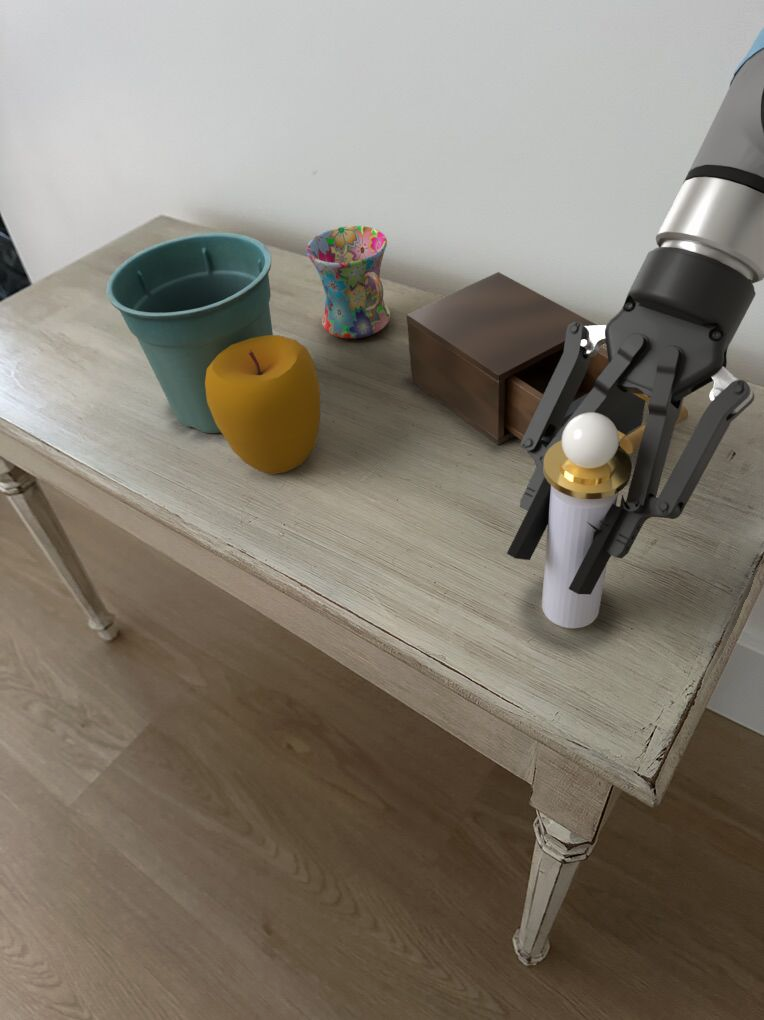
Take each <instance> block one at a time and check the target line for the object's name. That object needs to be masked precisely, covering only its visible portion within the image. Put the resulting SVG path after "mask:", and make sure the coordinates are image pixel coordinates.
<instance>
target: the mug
mask: <svg viewBox="0 0 764 1020" xmlns="http://www.w3.org/2000/svg"><path fill="white" fill-rule="evenodd" d="M387 244H388V240H387V237H386V236H385V234H384V233H383V232H381V231H380V230H378V229H376V228H373V227H370V226H365V225H364V226H363V225H345V226H339V227H335V228H331V229H330V228H329V229H328V230H325V231H323V232H320V233H319V234H317V235H316V236H314V237H312V238H311V240H309V242H308V244H307V245H306V255H307V257H308V259H309V260H310V261H311V263H312V264H313V266H314V268H315V269H316V271H317V274H318V276H319V278H320V281H321V283H322V287H323V291H324V310H323V314H322V318H321V324H322V327H323V329H324V330H325V331H326V332H327V333H329V334H330V335H332V336H334V337H336V338H341V339H351V340H352V339H362V338H366V337H369V336H370V337H371V336H372V335H374V334H376V333H379V332H380V331H382V330H383V329H384V328H386V326H387V325H388V324H389V321H390V320H391V311H390V309H389V307H388V305H387V304H386V302H385V300H384V286H383V283H382V281H381V267H382V261H383V258H384V254H385V251H386V248H387V246H388V245H387Z"/></svg>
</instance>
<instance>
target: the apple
mask: <svg viewBox="0 0 764 1020" xmlns="http://www.w3.org/2000/svg"><path fill="white" fill-rule="evenodd" d="M319 381H320V380H319V377H318V374H317V371H316V366H315V362H314V360H313V357H312V355H311V354H310V352H309V350H308V349H307V348H306V347H305V346H304V345H303V344H301V342H299V341H298V340H296V339H294V338H290V337H286V336H283V335H280V334H279V335H278V334H273V335H265V336H259V337H254V338H250V339H247V340H244V341H241V342H238V343H235V344H232V345H230V346H229V347H228V348H226V349H225V350H223V351H222V352H221V353H220V354H219V355H217V357H216V358H215V359H214V360H213V362H212V363H211V364H210V365H209V367H208V368H207V371H206V379H205V388H206V396H207V403H208V406H209V408H210V411H211V413H212V415H213V418H214V420H215V423H216V425H217V426H218V428H219V430H220V431H221V432H220V433H221V435H222V436H223V437H224V439H225V440H226V442H227V444H228V445H229V446H230V448H231V450H232V451H233V452H234V454H235V455H236V456H238V458H239V459H241V461H242V462H244V463H245V464H246V465H248V466H249V467H251V468H253V469H255V470H257V471H259V472H262V473H265V474H268V475H269V474H270V475H276V474H281V473H282V474H283V473H287V472H289V471H291V470H293V469H295V468H297V467H300V465H302V464H303V463H304V462H305V461H306V460H308V458H309V456H310V455H311V454H312V452H313V449H314V448H315V447H316V443H317V439H318V436H319V431H320V421H321V387H320V382H319Z"/></svg>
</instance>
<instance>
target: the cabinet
mask: <svg viewBox="0 0 764 1020" xmlns="http://www.w3.org/2000/svg"><path fill="white" fill-rule="evenodd" d="M573 321H579V322H580V323H581V324H582V325H584V326H594V325H597V324H596V323H595V322H593V321H590V320H589V319H587V318H585V317H583V316H581V315H579V314H578V313H576V312H574V311H572V310H570V309H568V308H566V307H564V306H563V305H561V304H559V303H557V302H555V301H553V300H552V299H550V298H548V297H546V296H544V295H542V294H540V293H539V292H536V291H535V290H533V289H531V288H529V287H528V286H526V285H524V284H522V283H520V282H518V281H516V280H514V279H512V278H510V277H509V276H508V275H505V274H503V273H501V272H500V271H497V272H495V273H493V274H491V275H488V276H486V277H485V278H482V279H480V280H478V281H475V282H473V283H472V284H469V285H467V286H465V287H463V288H460V289H458V290H456V291H454V292H452V293H450V294H448V295H446V296H443V297H441V298H439V299H437V300H435V301H433V302H430V303H428V304H426V305H423V306H422V307H420V308H417V309H416V310H413V311H411V312H409V313H407V314H406V325H407V336H408V337H407V339H408V352H409V360H410V361H409V362H410V375H411V382H412V383H413V384H415V385H416V386H417V387H419V388H420V389H421V390H423V391H424V392H425V393H427V394H428V395H429V396H431V397H432V398H433V399H435V400H436V401H437V402H439V403H440V404H442V405H443V406H444V407H445V408H446V409H448V410H449V411H451V412H452V413H454V414H455V415H456V416H457V417H459V418H460V419H462V420H463V421H464V422H466V423H467V424H469V425H470V426H471V427H472V428H473V429H475V430H476V431H478V432H479V433H481V434H482V435H483V436H485V437H486V438H488V439H489V440H490V441H492V443H494V444H495V445H497V446H500V445H501V444H503V443H505V442H506V441H509V440H510V439H512V438H514V437H516V436H515V435H513V434H512V433H511V432H509V431H508V430H506V429H505V428H504V406H505V379H506V378H508V377H510V376H511V375H513V374H515V373H517V372H519V371H521V370H523V369H525V368H527V367H528V366H530V365H532V364H534V363H536V362H538V361H540V360H542V359H544V358H546V357H547V356H549V355H551V354H553V353H555V352H557V351H559V350H561V349H563V348H564V344H565V336H566V329H567V326H568V325H569V324H570V323H571V322H573Z"/></svg>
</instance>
